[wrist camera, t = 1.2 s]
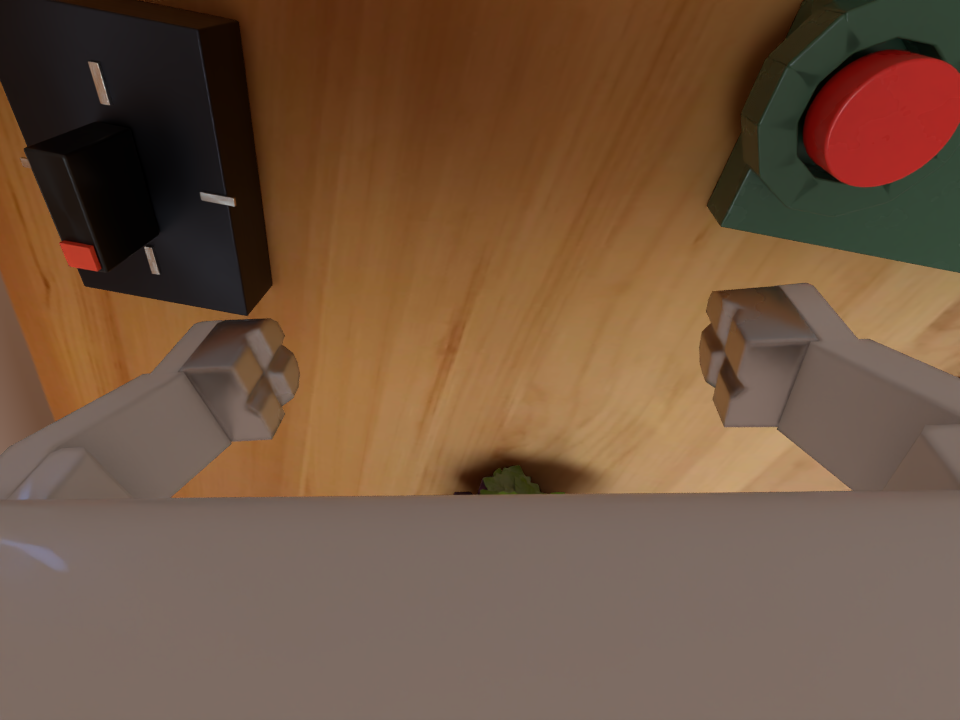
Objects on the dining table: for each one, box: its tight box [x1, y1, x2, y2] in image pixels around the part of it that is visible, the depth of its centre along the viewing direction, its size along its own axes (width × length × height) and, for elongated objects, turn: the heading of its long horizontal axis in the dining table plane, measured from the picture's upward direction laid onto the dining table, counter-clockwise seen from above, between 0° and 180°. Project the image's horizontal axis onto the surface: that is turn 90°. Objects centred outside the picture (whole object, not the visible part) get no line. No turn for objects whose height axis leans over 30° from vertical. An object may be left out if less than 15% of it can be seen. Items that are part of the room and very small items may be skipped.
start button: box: [803, 49, 960, 187], centre depth 15 cm, size 4×4×2 cm
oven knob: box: [24, 122, 159, 273], centre depth 19 cm, size 4×1×4 cm, turn 171°
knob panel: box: [0, 0, 272, 316], centre depth 22 cm, size 12×9×3 cm
